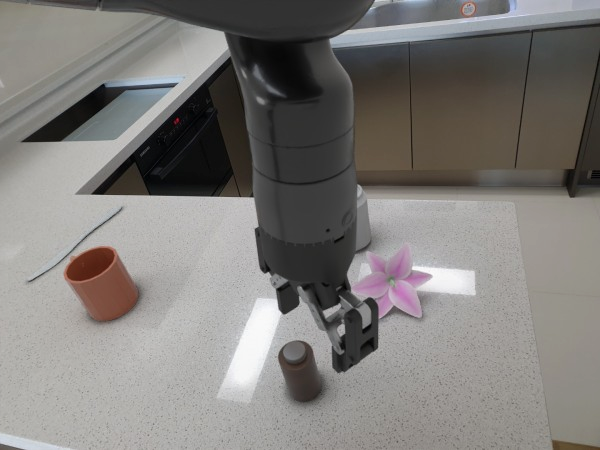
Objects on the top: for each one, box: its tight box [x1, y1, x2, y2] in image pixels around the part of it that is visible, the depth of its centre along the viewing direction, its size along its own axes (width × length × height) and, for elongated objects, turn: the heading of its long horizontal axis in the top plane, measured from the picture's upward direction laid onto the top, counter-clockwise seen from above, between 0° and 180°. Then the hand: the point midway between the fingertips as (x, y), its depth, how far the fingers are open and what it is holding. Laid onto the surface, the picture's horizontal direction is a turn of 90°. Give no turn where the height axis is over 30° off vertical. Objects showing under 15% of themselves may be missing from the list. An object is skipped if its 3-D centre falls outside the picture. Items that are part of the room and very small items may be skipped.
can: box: [356, 184, 372, 252], centre depth 85 cm, size 8×8×12 cm
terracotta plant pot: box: [63, 245, 140, 322], centre depth 85 cm, size 13×9×10 cm
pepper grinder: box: [277, 339, 322, 403], centre depth 63 cm, size 5×5×8 cm
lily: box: [350, 241, 434, 320], centre depth 74 cm, size 12×12×10 cm
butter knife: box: [26, 204, 122, 282], centre depth 105 cm, size 1×27×3 cm
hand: (315, 335), depth 45 cm, fingers open, 8 cm apart
